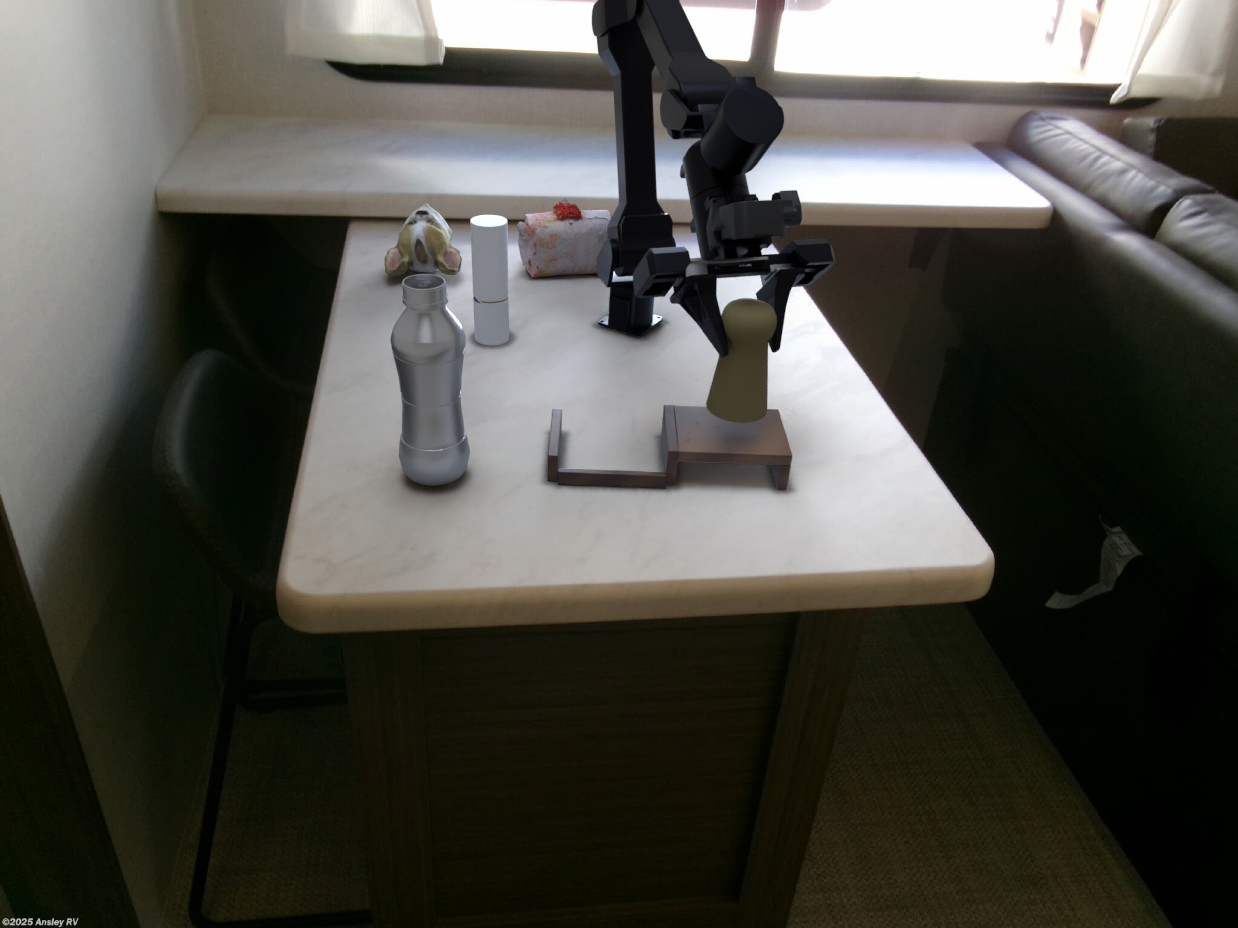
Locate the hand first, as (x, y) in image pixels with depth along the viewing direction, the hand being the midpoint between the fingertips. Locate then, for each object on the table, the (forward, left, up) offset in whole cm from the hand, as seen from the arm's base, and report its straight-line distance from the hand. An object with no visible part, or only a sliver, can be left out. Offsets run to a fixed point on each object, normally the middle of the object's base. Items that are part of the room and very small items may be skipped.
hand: (750, 353), depth 89 cm
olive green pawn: (-1, -1, -7) cm, 7 cm away
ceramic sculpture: (-23, -59, -13) cm, 65 cm away
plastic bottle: (+18, -24, -13) cm, 32 cm away
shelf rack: (+2, -6, -13) cm, 15 cm away
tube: (-10, -38, -13) cm, 41 cm away
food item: (-35, -43, -13) cm, 57 cm away
